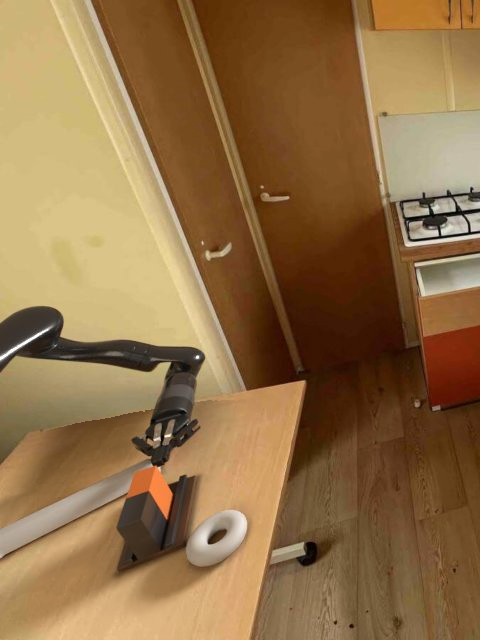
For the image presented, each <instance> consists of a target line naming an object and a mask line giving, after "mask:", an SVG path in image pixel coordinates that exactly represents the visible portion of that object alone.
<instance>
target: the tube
mask: <svg viewBox="0 0 480 640" xmlns="http://www.w3.org/2000/svg"><path fill="white" fill-rule="evenodd" d="M150 459H151V458H146V459H143V460H142V461H139V462H138V463H136V464H132V465H131V466H129V467H127V468H125V469H123V470H120V471H119V472H117V473H115V474H112V475H110V476H108V477H106V478H104V479H102V480H99V481H97V482H95V483H93V484H91V485H89V486H87V487H85V488H83V489H80V490H79V491H77V492H75V493H73V494H71V495H69V496H66V497H64V498H62V499H60V500H58V501H56V502H54V503H52V504H49V505H48V506H46V507H42V509H40V510H37V511H35V512H33V513H31V514H29V515H27V516H25V517H23V518H21V519H18V520H16V521H14V522H11V523H9V524H8V525H5V526H3V527H1V528H0V559H2V558H4V557H5V556H6V555H8V554H9V553H11V552H13V551H16V550H17V549H19V548H21V547H23V546H25V545H27V544H29V543H31V542H33V541H35V540H37V539H39V538H41V537H42V536H45V535H47V534H48V533H51V532H52V531H55V530H56V529H59V528H61V527H63V526H65V525H67V524H69V523H70V522H72V521H74V520H76V519H78V518H80V517H82V516H85V515H87V514H88V513H90V512H92V511H94V510H96V509H99V508H100V507H102V506H104V505H106V504H108V503H110V502H112V501H114V500H116V499H118V498H120V497H122V496H124V495H126V494H128V491H129V488H130V485H131V482H132V479H133V476H134V473H135V472H137V471H141V470H144V469H147V468H150V467H153V465H152V463H151V461H150ZM158 469H159V471H160V473H161V474H162V468H161V466H160V467H158Z"/></svg>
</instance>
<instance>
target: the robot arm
mask: <svg viewBox="0 0 480 640" xmlns="http://www.w3.org/2000/svg"><path fill="white" fill-rule="evenodd" d="M64 324H65V320H64V316H63V314H62V312H61V311H60V310H58V309H57V308H55V307H52V306H47V305H35V306H34V305H33V306H29V307H24V308H22V309H19V310H17V311H15V312H13V313H12V314H10V315H8V316H7V317H6V318H4V319H3V320H2V321H1V322H0V374H1V373H2V372H3V371H4V369H6V367H7V366H8V365H9V364H10V363H11V361H13V360H14V359H15V358H16V357H18V358H19V357H20V358H24V359H25V358H26V359H34V360H47V361H59V362H60V361H61V362H71V363H73V362H74V363H85V364H86V363H88V364H97V365H105V366H113V367H117V368H118V367H119V368H121V369H127V370H132V371H137V372H142V373H152V372H153V371H155V370H156V369H157V368H158V367H159V365H161V364H164V363H165V364H166V363H170V364H169V365H168V368H167V370H166V372H165V376H164V379H163V385H162V388H161V391H160V394H159V396H158V398H157V399H156V402H155V405H154V408H153V412H152V415H151V418H150V420H149V425H148V427H147V428H146V430H145V432H144V434H143V435H141V436H134V437H132V438H131V439H130V441H131V443H132V445H133V447H134V448H135V449H136V450H137V451H139V452H141V453H142V454H143V455H145V456H147V457H149V459H150V461H151V463H152V465H153V466H157V468H158V467H160V468H161V467H163V466H166V463H168V462H169V461H170V457H171V454H172V453H171V452H172V451H174V449H175V448H181V447H182V446H184V445H185V444H186V443H187V442H188V441H189V440H190V439H191V438H192V437H193V436H194V435H195V434H196V433H197V432H198V431H200V429H201V428H202V427H201V423H200V422H199V420H198V419H197V418H194V419H192V420H191V418H192V415H193V410H194V407H195V402H196V401H195V399H196V398H195V397H196V396H195V395H196V391H197V385H198V381H197V377H198V375H199V373H200V371H201V369H202V367H203V365H204V362H205V360H206V355H205V353H204V352H203V351H202V350H201V349H199V348H197V347H193V346H185V345H184V346H180V345H179V346H173V345H172V346H171V345H156V344H151V343H147V342H141V341H138V340H133V339H123V338H120V339H109V340H107V339H106V340H101V341H100V340H99V341H82V340H81V341H79V340H75V339H70V338H66V337H63V336H61V334H62V332H63V329H64ZM148 439H149V440H150V441H152V443H153V444H152V445H151V444H150V443H148Z"/></svg>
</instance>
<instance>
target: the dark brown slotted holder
mask: <svg viewBox="0 0 480 640" xmlns="http://www.w3.org/2000/svg"><path fill="white" fill-rule="evenodd" d="M197 480H198V478H197V476H196V475H195V474H194V475H191V476H188V475H187V474H186V473H185V474H182V475H179V478H178V480H177V481H174V482H172V483H167V485H168V487H169V489H170V490H171V492H172V494H173V496H174V500H173V504H172V509H171V513H170V518H169V522H167V520H166V518H165V517H164V515H163V513H162V512H161V510H160V508H159V507H158V505H157V504H156V502H155V500H154V499H153V497H152V495H151V494H150V492H149V491H147V492H144V493H141V494H138V495H135V496H132V497H129V498H127V499H126V498H125V499H124V503H123V505H122V508H121V512H120V515H119V518H118V521H117V524H116V527H115V529H116V531H117V532H118V533H119V535H120V536H121V538H122V539H123V540H124V544H123V547H122V550H121V554H120V556H119V560H118V564H117V567H116V571H117V572H118V574H120V573H123V572H126V571H128V570H129V569H132V568H135V567H137V566H140V565H143V564H145V563H148V562H151V561H153V560H156V559H158V558H160V557H163V556H165V555H168V554H170V553H173V552H174V551H175V552H176V551H178V550H180V549H183V548H186V544H187V537H188V531H189V525H190V520H191V514H192V508H193V503H194V499H195V498H194V497H195V492H196V487H197Z"/></svg>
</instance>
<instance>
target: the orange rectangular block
mask: <svg viewBox="0 0 480 640" xmlns="http://www.w3.org/2000/svg"><path fill="white" fill-rule="evenodd" d="M147 491H149V492H150V494H151V495H152V497H153V499H154V500H155V502H156V504H157V505H158V507H159V508H160V510H161V512H162V513H163V515H164V517H165V518H166V520H167V522H169V518H170V513H171V509H172V504H173V500H174V496H173V494H172V492H171V490H170V489H169V487H168V483H167V482H166V479H165V478H164V477H163V475H162V472H161V473H160V471H159V469H158V468H157V466H153V467H150V468H147V469H144V470H141V471H137V472H135V473H134V476H133V479H132V482H131V485H130V488H129V491H128V493H126V494H127V495H126V498H125V499H127V498H129V497H132V496H135V495H138V494H141V493H144V492H147Z"/></svg>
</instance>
